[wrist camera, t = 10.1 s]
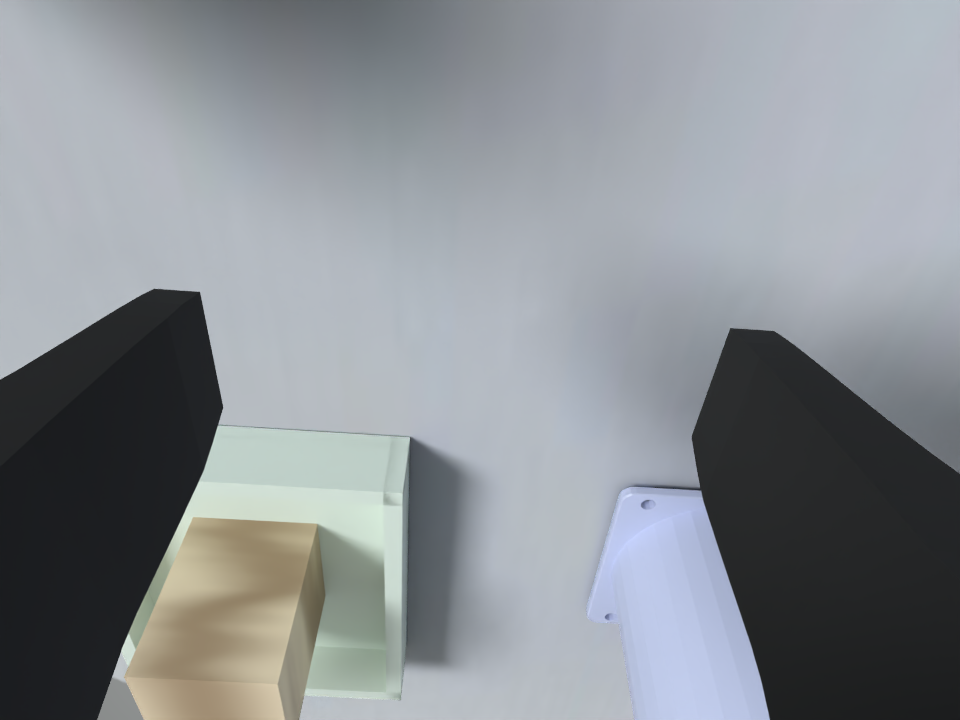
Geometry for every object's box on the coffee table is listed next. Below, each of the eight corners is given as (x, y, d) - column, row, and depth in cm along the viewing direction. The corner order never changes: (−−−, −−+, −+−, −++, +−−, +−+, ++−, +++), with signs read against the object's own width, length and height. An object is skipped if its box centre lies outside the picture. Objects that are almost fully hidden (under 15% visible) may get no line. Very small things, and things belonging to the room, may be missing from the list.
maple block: (317, 523, 25) (277, 684, 21) (325, 595, 28) (291, 752, 23) (193, 517, 25) (123, 677, 21) (213, 589, 28) (156, 746, 23)
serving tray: (410, 437, 24) (402, 493, 22) (406, 645, 31) (400, 700, 29) (79, 416, 23) (41, 471, 21) (160, 632, 31) (137, 687, 29)
